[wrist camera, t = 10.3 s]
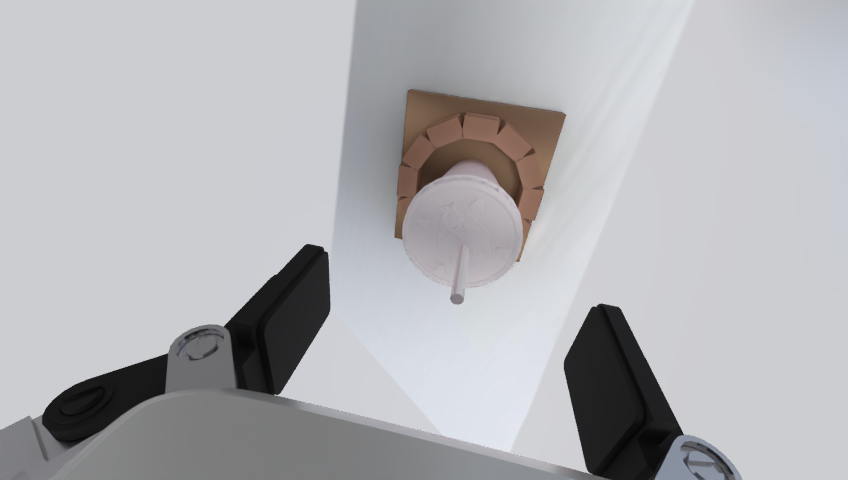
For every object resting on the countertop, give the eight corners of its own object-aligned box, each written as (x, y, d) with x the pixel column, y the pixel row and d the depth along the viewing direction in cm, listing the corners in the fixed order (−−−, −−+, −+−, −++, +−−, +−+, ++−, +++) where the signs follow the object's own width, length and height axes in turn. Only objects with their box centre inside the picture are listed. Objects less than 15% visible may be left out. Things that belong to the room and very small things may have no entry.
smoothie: (447, 229, 28) (414, 357, 15) (416, 159, 25) (348, 244, 13) (523, 205, 26) (554, 331, 13) (496, 125, 23) (503, 191, 11)
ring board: (411, 89, 24) (401, 92, 21) (562, 112, 23) (572, 119, 20) (397, 231, 30) (388, 248, 27) (517, 255, 29) (520, 275, 26)
